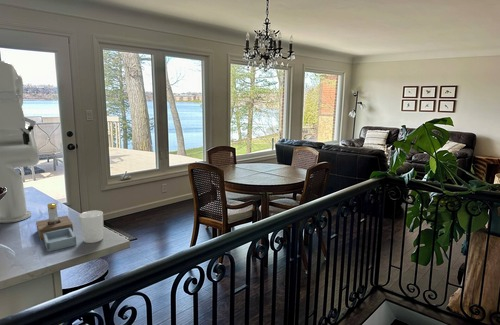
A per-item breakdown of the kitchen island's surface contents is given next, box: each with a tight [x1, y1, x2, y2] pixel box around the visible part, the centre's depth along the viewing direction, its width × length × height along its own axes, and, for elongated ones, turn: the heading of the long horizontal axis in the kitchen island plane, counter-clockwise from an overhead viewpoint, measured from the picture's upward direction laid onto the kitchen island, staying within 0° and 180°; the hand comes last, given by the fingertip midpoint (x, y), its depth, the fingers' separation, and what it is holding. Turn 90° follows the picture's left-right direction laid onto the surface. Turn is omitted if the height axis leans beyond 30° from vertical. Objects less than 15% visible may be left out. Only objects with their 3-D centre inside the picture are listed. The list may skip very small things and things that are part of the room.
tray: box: [43, 228, 77, 252], centre depth 122 cm, size 11×9×3 cm
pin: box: [47, 202, 59, 225], centre depth 130 cm, size 3×3×12 cm
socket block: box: [35, 215, 74, 241], centre depth 131 cm, size 11×11×4 cm
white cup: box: [78, 209, 104, 244], centre depth 124 cm, size 8×8×10 cm
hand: (10, 145), depth 121 cm, fingers open, 9 cm apart
